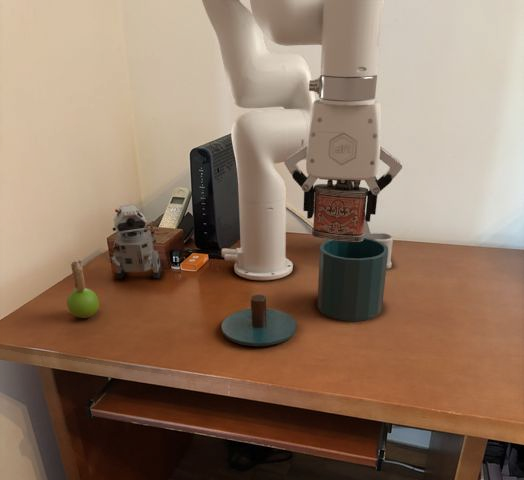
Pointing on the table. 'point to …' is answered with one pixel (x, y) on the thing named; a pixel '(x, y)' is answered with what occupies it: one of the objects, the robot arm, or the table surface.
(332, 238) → the lighter
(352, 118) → the robot arm
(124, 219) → the figurine
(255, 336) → the tin lid
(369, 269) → the tin
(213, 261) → the table surface
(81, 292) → the green ball with peg
